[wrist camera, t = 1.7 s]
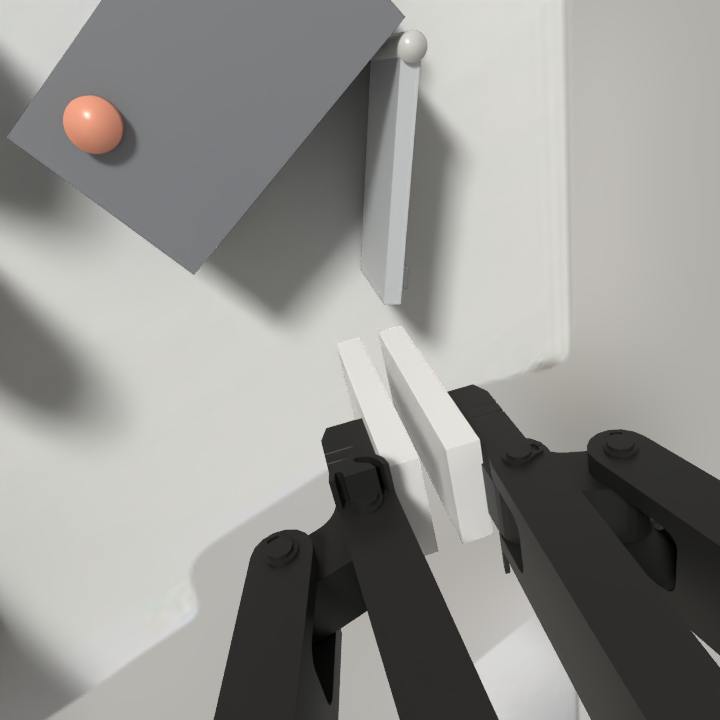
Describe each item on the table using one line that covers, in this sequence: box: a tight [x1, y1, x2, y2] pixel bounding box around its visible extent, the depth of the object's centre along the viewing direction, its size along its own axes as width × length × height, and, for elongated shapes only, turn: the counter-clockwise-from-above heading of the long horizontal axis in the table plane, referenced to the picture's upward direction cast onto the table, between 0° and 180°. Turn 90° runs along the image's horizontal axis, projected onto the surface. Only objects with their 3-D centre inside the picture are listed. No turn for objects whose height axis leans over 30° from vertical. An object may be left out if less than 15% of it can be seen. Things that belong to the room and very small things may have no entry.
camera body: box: [7, 0, 405, 275], centre depth 30 cm, size 18×10×9 cm, turn 137°
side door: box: [361, 30, 427, 305], centre depth 35 cm, size 14×2×7 cm, turn 177°
